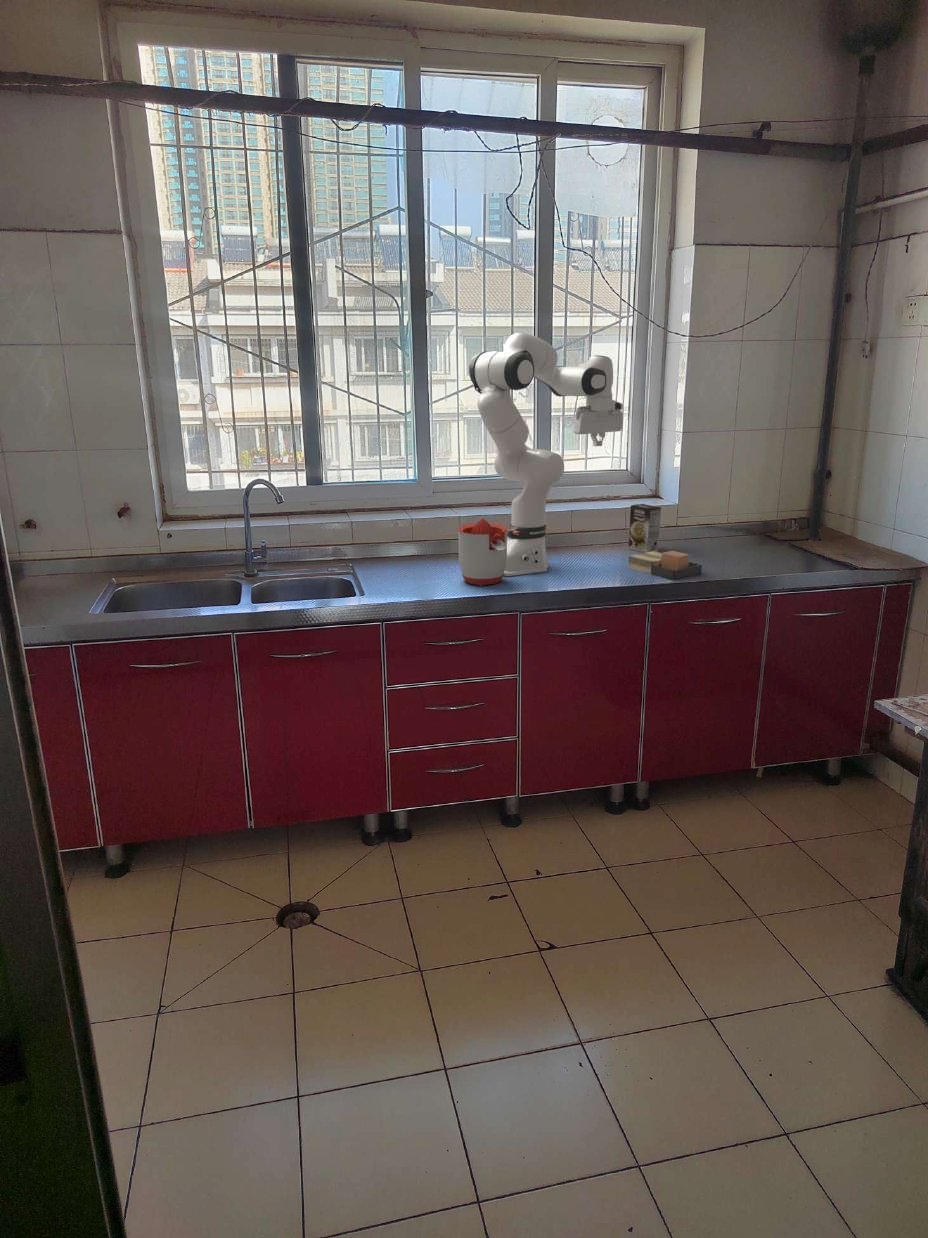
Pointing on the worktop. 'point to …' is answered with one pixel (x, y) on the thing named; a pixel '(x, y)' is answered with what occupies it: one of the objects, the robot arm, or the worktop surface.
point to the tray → (677, 571)
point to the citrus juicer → (482, 552)
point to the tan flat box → (645, 561)
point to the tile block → (674, 560)
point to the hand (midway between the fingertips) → (597, 446)
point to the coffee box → (644, 528)
